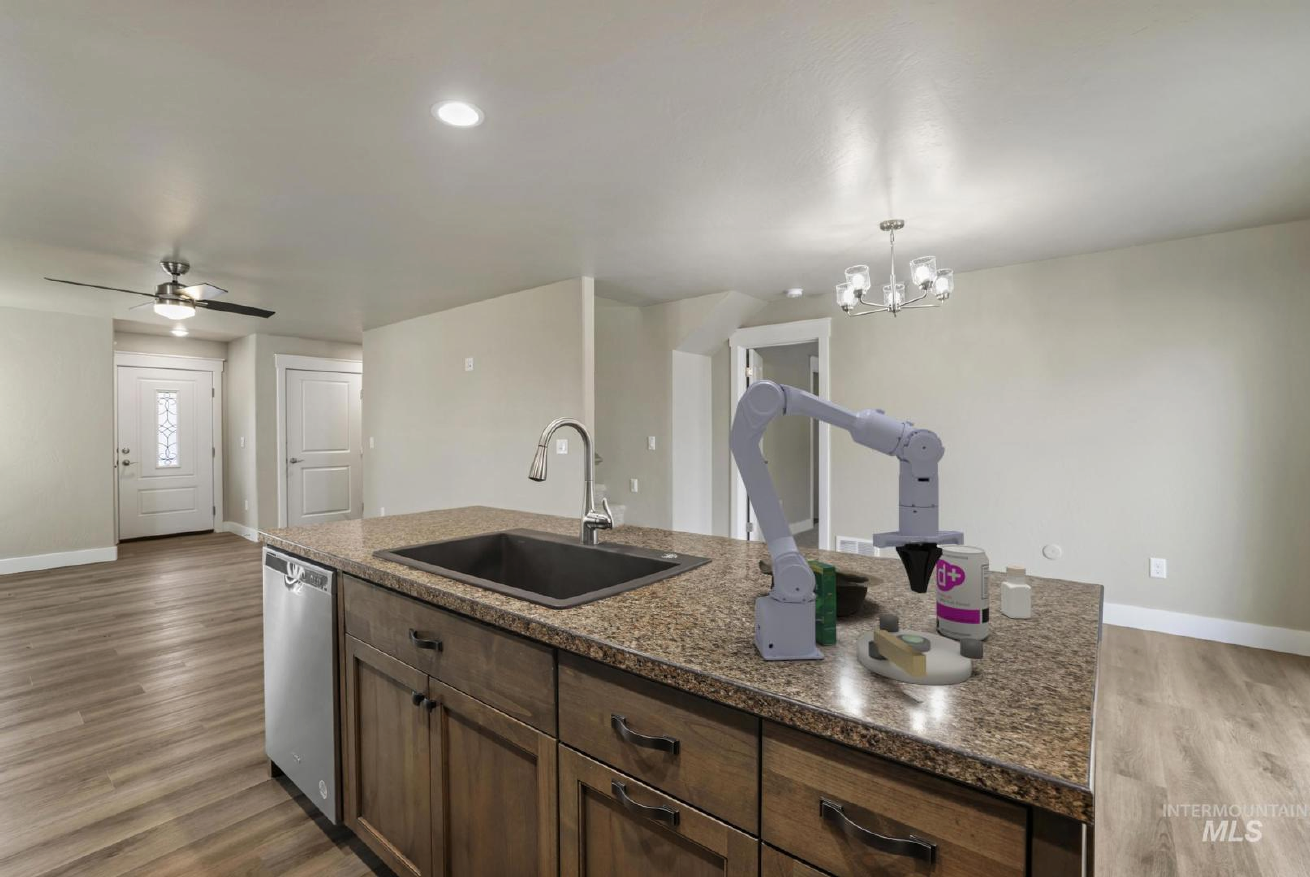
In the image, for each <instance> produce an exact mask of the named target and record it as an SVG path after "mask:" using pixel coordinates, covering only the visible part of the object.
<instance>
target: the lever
mask: <svg viewBox="0 0 1310 877" xmlns="http://www.w3.org/2000/svg"><path fill="white" fill-rule="evenodd" d="M877 630H878V631H875V630H873V631H874V641H869V643H868V652H869V657H871V658H873V659H876V660H890V661H891V662H893V663H894V664H895V665H897V666H898V667H900V668H901V669H902V670H904V671H905V672H907V673H908V674H910V675H911V676H912V677H924V676H926V655H925V654H923V653H921V652H920V651H918V650H916V649H915V648H913V647H912V646H910V645H908V644H907V643H905V642H904V641H902V640H900V639H899V638H897V637H895V636H894V635H892V634H891V633H889V632H887V631H886V630H880V629H877Z"/></svg>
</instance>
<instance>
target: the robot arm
mask: <svg viewBox="0 0 1310 877" xmlns="http://www.w3.org/2000/svg"><path fill="white" fill-rule="evenodd" d="M781 411H783V412H782V416H783V417H785V416H795V415H804V416H806V417H808V418H812V419H815V420H818V421H819V422H820V421H821V422H823V423H826V424H828V425H832V426H833V427H836V428H840V429H843V430H845V431H847V432H849V434H850V436H851V439H852V440H853V443H856V444H859V445H861V446H863V447H867V448H868V449H871V450H874V451H876V452H880V453H881V454H885V455H886V456H890V457H896V459H898V461H899V474H898V531H897V530H896V531H889V532H881V533H880V532H879V533H873V534H872V546H873V547H876V548H878V549H886V548H894V547H895V552H896V553H897V554H898V556H899V559H900V560H901V562H902V564H903V567H904V570H905V572H906V575H907V578H908V582H909V586H910V590H911V592H915V593H916V594H926V593H927V591H928V587H929V583H930V580H931V577H932V574H933V571H934V570H935V567H936V564H937V562H938V560H939V559H940V557H941V556H942V554H943V549H942V548H940V547H938V546H946V545H962V546H965V545H964V544H965V535H964V532H963V531H959V530H939V529H940V528H939V526H940V525H939V517H940V515H939V504H940V502H939V498H940V497H939V494H940V493H939V488H940V487H939V485H940V484H939V482H940V481H939V480H940V479H939V462H940V461H941V460H942V459H943V457H944V455H945V451H946V448H945V446H943V443H942V440H941V438H940V437H939V436H938V435H937V433H935V432H934V431H932V430H929V429H926V428H925V429H923V428H920V429H918V428H915V427H914V426H915V422H913V421H910V420H906V421H902V420H900V419H896V418H894V417H891V416H889V415H886V414H885V412H886V410H884V409H881V408H878V407H877V408H874V410H873V409H870V408H866V409H864V410H861V411H859V412H855V411H854V410H850V409H849V408H846V407H843V406H842V405H839V404H838V403H837V404H836V403H834V402H832V401H829V400H827V399H824V398H822V397H820V396H818V395H815V394H813V393H810V392H809V391H806V390H803V389H801V388H797V387H793V386H790V385H786V384H782V383H780V385H778V384H777V383H776V382H773V381H772V380H768V379H760V380H757V381H754V382H753V383H751V384H750V385H749V386H748V387H747V388H746V389H745V391H744V393H743V394H742V396H741V397H740V399H739V400H738V402H737V406H736V411H735V414H734V417H733V418H734V419H733V421H732V425H731V430H730V434H729V438H728V444H729V449H730V450H731V453H732V455H733V458H734V461H735V463H736V466H737V469H738V471H739V474H740V477H741V481H742V482H743V484H744V487H745V488H744V489H745V491H746V493H747V497H748V498H749V501H750V504H751V507H752V509H753V512H754V515H755V516H756V519H757V522H758V525H759V527H760V530H761V534H762V536H763V538H764V543H765V545H766V547H767V551H768V553H769V557H770V560H771V564H772V574H773V576H774V587H773V588H772V589H771V588H770V589H771V590H769V595H765V596H759V597H756V599H755V604H754V641H753V643H754V644H755V646H756V647H757V650H758V651H759V652H760V655H761V656H762V658H763V660H766V661H772V660H773V661H782V660H783V661H784V660H813V659H814V660H816V659H819V660H820V659H822V660H823V659H825V654H824V653H823V652H822V651H821V650H820V649H819V648H818V647H817V646H816V640H815V593H813V590H814V587H815V576H814V573H813V571H812V570H811V568H810V567H809V563H808V561H807V559H808V558H807V557H805V555H804V554H802V553H801V552H800V551H799V548H798V546H797V544H796V541H795V538H794V536H793V533H792V531H791V528H790V525H789V523H788V520H787V517H786V515H785V512H784V509H783V507H782V504H781V501H780V499H779V495H778V494H777V490H776V488H775V486H774V483H773V480H772V477H771V475H770V472H769V469H768V467H767V465H766V464H767V463H766V461H765V459H764V458H765V457H764V456H763V454H762V451H761V447H760V442H761V440H762V438H763V436H764V433H765V432H766V430H767V427H768V425H769V424H770V423H771V422H772V421H773V420H775V418H776V417H777V416H778V415H779V414H780V413H781Z"/></svg>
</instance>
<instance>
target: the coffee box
mask: <svg viewBox="0 0 1310 877" xmlns="http://www.w3.org/2000/svg"><path fill="white" fill-rule="evenodd" d="M806 559H807V561H808V563H809V567H810V568H811V570H812V571H813V573H814V576H815V587H814V590H813V593H815V642H816V643H818V644H821V645H823V646H833V645H836V644H838V643H837V640H838V639H837V615H836V568H837V567H836V566H835V565H832V564H829V563H824V562H822V561H818V560H816V559H812V558H806Z"/></svg>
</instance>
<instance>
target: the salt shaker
mask: <svg viewBox="0 0 1310 877" xmlns="http://www.w3.org/2000/svg"><path fill="white" fill-rule="evenodd" d="M1026 569H1027V568H1026V567H1024V566H1022V565H1013V564H1011V565H1006V566H1005V576H1006V581H1003V582H1001V583H1000V596H1001V599H1000V603H1001V604H1000V606H1001V608H1000V610H1001V613H1002V614H1003V615H1004V616H1006V617H1008V618H1010V619H1019V620H1020V619H1023V620H1026V619H1027V620H1028V619H1031V617H1032V587H1031V586H1030V585H1029V584H1028V583H1026V576H1027V575H1026V573H1027V570H1026Z"/></svg>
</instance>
